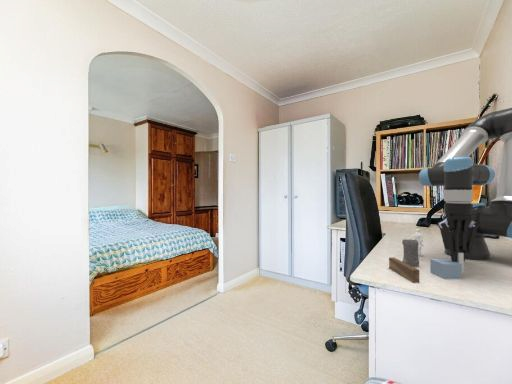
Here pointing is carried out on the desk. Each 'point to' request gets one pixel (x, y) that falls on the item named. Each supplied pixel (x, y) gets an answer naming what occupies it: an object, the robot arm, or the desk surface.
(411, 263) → the stone
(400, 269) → the board
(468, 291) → the desk surface
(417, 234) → the action figure
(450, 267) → the block
